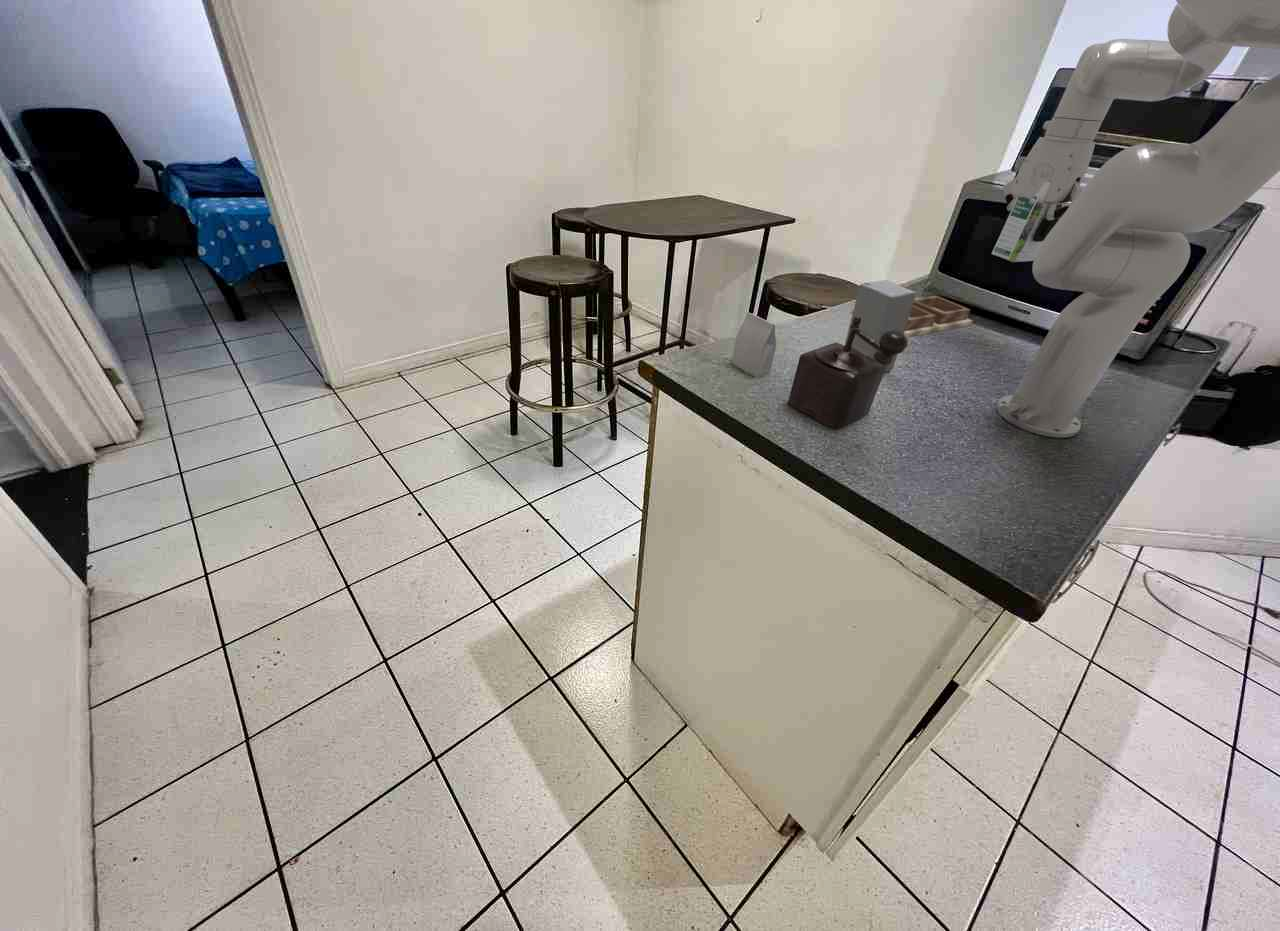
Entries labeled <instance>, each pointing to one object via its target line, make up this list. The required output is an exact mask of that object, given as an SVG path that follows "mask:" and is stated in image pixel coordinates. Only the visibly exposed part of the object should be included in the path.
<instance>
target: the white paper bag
mask: <svg viewBox="0 0 1280 931" xmlns="http://www.w3.org/2000/svg"><path fill="white" fill-rule="evenodd" d="M776 346H777V339H776V324H775V323H772V322H770V321H769V320H766V319H764V318H762V317H760V316H758V315H756V314H754V313H751V312H749V311H748V312H746V314H745V317H744V320H743V322H742V324H741V325H740V327H739V329H738V331H737V333H736V337H735V342H734V348H733V351H732V353H733V354H732V359H731V364H732V365H734V366H736V367H737V368H738V369H740V370H743V371H744V372H745V373H747V374H749V375H751V376H753V377H754V378H760V377H763V376H766V375H768V374H770V373H771V369H772V364H773V361H774V356H775V353H776V348H777V347H776Z"/></svg>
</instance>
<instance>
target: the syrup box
mask: <svg viewBox="0 0 1280 931" xmlns="http://www.w3.org/2000/svg"><path fill="white" fill-rule="evenodd" d="M1042 183H1045V182H1042ZM1041 186H1042V187H1041ZM1041 186H1039V187H1041V189H1040V190H1039V191H1038V192H1037V194H1036V195H1035V196H1034V197H1033V198H1021V197H1017V199H1016V201H1015V204H1014V206H1013V208H1012V210H1011V212H1010V215H1009V217H1008V219H1007V221H1006V223H1005V226H1004V228H1003V230H1002V232H1001V231H1000V235H999V237H998V239H997V241H996V243H995V245H994V247H993V250H992V252H991V255H993V256H996V257H1000V258H1001V259H1004V260H1007V261H1009V262H1011V263H1017V262H1019V263H1020V262H1034V258H1035V256H1036V253H1037V251H1038V249H1039V247H1040V246H1041V244H1042V242H1043V241H1039V242H1035V241H1033V237H1034V235H1035V233H1036V231H1037V229H1038V227H1039V225H1040V223H1041V221H1042V220H1043V219H1046V217H1047V209H1048V203H1044V199H1045V197H1046V195H1047V192H1048V190H1049V188H1050V186H1051V182H1047V183H1045V184H1043V185H1041Z"/></svg>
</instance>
